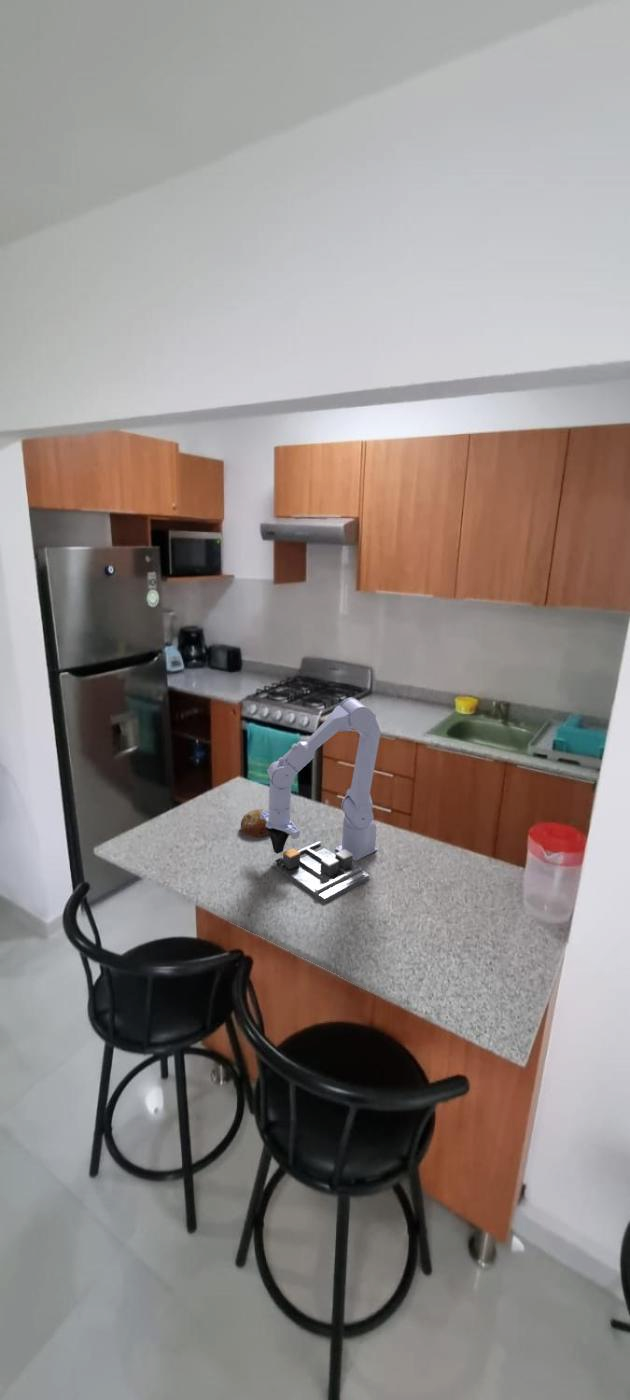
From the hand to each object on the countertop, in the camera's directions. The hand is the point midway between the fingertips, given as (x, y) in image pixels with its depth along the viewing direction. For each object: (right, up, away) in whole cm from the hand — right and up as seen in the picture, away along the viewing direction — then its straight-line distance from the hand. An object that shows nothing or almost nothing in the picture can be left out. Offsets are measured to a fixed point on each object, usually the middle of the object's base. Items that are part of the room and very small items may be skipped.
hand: (278, 851), depth 151 cm
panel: (+11, -4, -4) cm, 13 cm away
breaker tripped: (+4, -2, -4) cm, 6 cm away
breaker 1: (+14, -4, -6) cm, 15 cm away
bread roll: (-7, +2, +17) cm, 18 cm away
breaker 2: (+18, -3, -3) cm, 18 cm away
